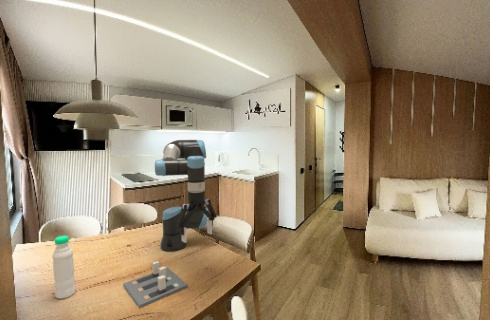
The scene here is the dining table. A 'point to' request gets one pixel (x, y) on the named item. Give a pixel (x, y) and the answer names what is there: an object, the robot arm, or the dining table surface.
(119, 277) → the dining table surface
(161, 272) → the breaker
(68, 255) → the water bottle
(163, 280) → the breaker
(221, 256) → the dining table surface
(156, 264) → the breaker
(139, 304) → the panel
